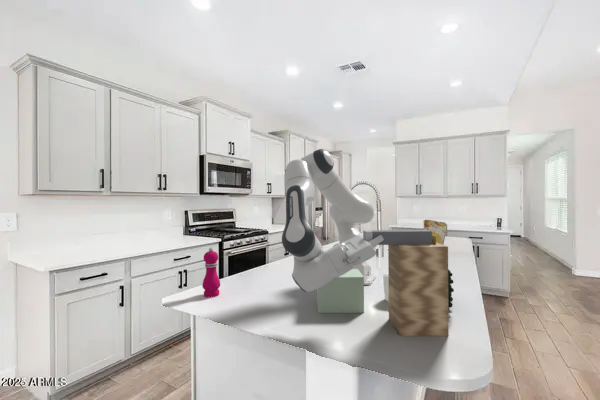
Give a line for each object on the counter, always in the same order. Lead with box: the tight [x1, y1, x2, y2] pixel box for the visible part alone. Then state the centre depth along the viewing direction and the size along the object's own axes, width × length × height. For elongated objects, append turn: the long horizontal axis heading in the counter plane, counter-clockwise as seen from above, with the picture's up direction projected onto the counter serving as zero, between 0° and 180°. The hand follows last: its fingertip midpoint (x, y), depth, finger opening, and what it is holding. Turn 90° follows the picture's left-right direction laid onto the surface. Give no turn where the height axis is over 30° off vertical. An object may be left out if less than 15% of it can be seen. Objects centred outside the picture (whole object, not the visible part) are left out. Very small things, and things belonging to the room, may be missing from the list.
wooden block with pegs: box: [387, 235, 449, 337], centre depth 95 cm, size 14×12×28 cm
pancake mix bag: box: [422, 219, 448, 245], centre depth 155 cm, size 7×19×28 cm, turn 4°
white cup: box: [382, 272, 389, 303], centre depth 119 cm, size 8×8×10 cm
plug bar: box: [362, 229, 432, 246], centre depth 95 cm, size 20×4×4 cm, turn 89°
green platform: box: [316, 269, 365, 314], centre depth 113 cm, size 16×12×12 cm
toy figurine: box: [448, 269, 455, 308], centre depth 117 cm, size 9×19×25 cm
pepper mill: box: [201, 247, 221, 298], centre depth 128 cm, size 7×7×20 cm
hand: (379, 235), depth 95 cm, fingers closed on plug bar, 4 cm apart
